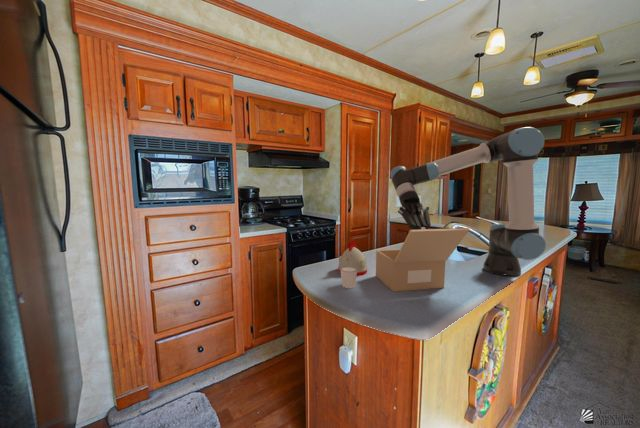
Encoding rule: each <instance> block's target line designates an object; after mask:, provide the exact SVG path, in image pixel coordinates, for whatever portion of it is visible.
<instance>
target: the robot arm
mask: <svg viewBox="0 0 640 428" xmlns="http://www.w3.org/2000/svg"><path fill="white" fill-rule="evenodd" d="M545 142H546V141H545V137H544V135H543V133H542V132H541V131H540V130H539V129H538V128H535V127H532V126H525V127H519V128H515V129H514V130H511V131H508V132H505V133H503V134H500V135H498V136H497V137H496V136H495V137H494V138H492V139H490V140H488V141H485V142H481V143H480V144H479V146H477V147H474V148H471V149H468V150H467V149H466V150H465V151H461V152H459V153H455V154H451V155H449V156H447V157H443V158H439V159H437V160H434V161H433V160H432V161H431V162H427V163H424V164H422V165H419V166H414V167H412V168H406V166H404V165H397V166H395V167H393V168H392V169H391V171H390V175H389V176H390V179H391V182H392V184H393V187H394V189H395V192H396V194H397V197H398V200H399V202H400V205H401V206H400V207H399V208H398V211H397V212H398V214H399V215H401V217H402V218H403V219H404V221H405V223H406V225H407V226H408V227H409V229H410V230H421V229H430V227H431V217H430V207H429V206H426V207H425V206H423V204H422V203H421V201H420V197H419V195H418V192H417V190H416V188H415V186H416V185H419V184H423V183H427V182H430V181H431V182H432V181H434V180H437V179H439V177H440V176H443V175H446V174H450V173H453V172H456V171H459V170H462V169H466V168H469V167H473V166H475V165H478V164H479V165H480V164H482V163H485V164H489V163H492V162H497V161H502V164H503V165H504V166H505V167H506V169H507V200H508V203H507V205H508V223H506V224H501V223H500V224H499V223H495V224H491V225H490V227H489V228H490V229H489V238H488V239H489V241H488V254H487V255H486V257H485V260H484V262H483V266H482V268H483V270H484V269H485V270H484V271H486V272H488V271H489V272H488V273H491V272H492V274H494V273H497V274H496V275H499V274H506V275H511V276H510V277H517V276H521V275H522V268H521V264H520V261H519V259H522V260H526V261H530V260H535V259H537V258H539V257H540V256H541V255H542V254H543V253H544V252H545V251H546V247H547V243H546V239H545V238H544V237H543V236H542V235H541V234H540V226H539V225H538V224H536V223H535V196H534V195H535V194H534V190H535V189H534V188H535V187H534V185H535V184H534V164H535V163H536V162H537V161H539V154H540V153H541V150H543V148H544V147H545V146H544V145H545Z"/></svg>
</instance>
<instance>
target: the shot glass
mask: <svg viewBox="0 0 640 428" xmlns="http://www.w3.org/2000/svg"><path fill="white" fill-rule="evenodd" d="M357 277H358V276H357V269H356V268H352V267H344V268H341V273H340V279H341V287H342V286H343V288H344V287H345V288H346V289H354V288H355V287H357V286H356V285H357V283H356V282H357ZM345 288H344V289H345Z"/></svg>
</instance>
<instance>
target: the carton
mask: <svg viewBox="0 0 640 428" xmlns="http://www.w3.org/2000/svg"><path fill="white" fill-rule="evenodd" d="M400 249H401V248H400ZM400 249H381V250H376V251H375V255H376V256H375V277H376V278H377V279H378V280H379V281H380V282H382V283H383V284H384V285H385V286H386V287H387V289H389V290H391V291H392V293H393V292H407V291H421V290H435V289H444V288H445V276H446V274H445V273H446V260H441V261H422V262H402V263H395V262H394V261H395V259H396V257H397V255H398V253H399V251H400Z"/></svg>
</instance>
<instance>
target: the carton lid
mask: <svg viewBox="0 0 640 428" xmlns="http://www.w3.org/2000/svg"><path fill="white" fill-rule="evenodd" d="M469 231H470V229H469V227H465V228H464V227H462V228H433V229H432V228H428V229H421V230H415V229H413V230H412V229H410V230H409V232H408V233H407V236H406V238H405V240H404V241H403V244H402V246H401V247H400V251H399V253H398V255H397V257H396V259H395V261H394V262H395V263H402V262H422V261H441V260H445V261H448V259H449V258H450V257H451V256H452V254H453V253H454V251H456V249H457V247H458V246H459V244H460V243H461V242H462V241H463V239H464V238H465V237H466V236H467V234H468V233H469Z"/></svg>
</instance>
